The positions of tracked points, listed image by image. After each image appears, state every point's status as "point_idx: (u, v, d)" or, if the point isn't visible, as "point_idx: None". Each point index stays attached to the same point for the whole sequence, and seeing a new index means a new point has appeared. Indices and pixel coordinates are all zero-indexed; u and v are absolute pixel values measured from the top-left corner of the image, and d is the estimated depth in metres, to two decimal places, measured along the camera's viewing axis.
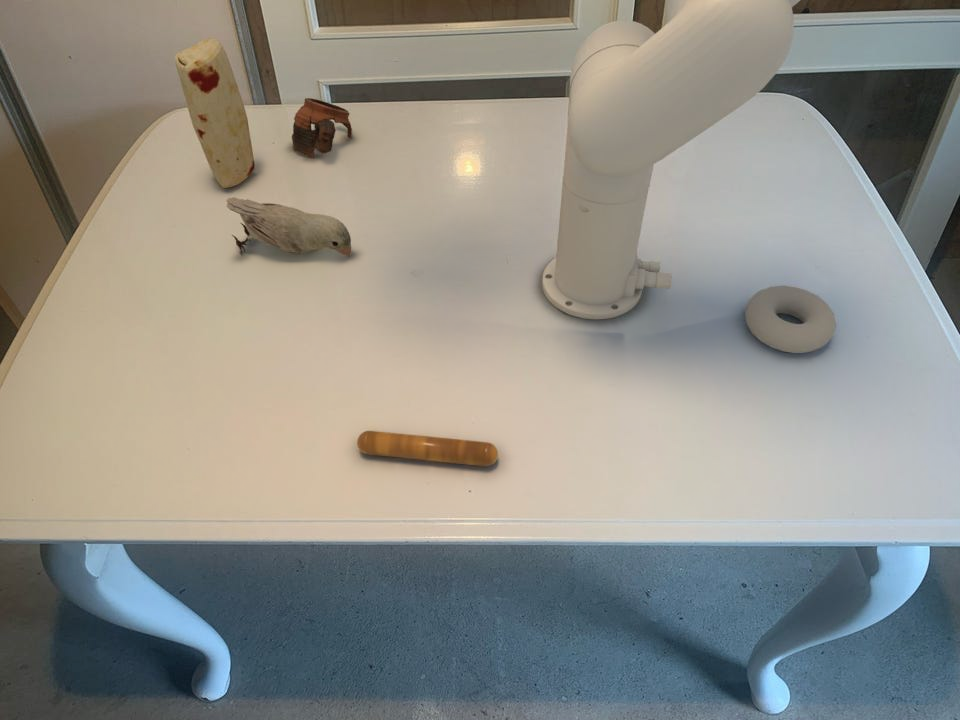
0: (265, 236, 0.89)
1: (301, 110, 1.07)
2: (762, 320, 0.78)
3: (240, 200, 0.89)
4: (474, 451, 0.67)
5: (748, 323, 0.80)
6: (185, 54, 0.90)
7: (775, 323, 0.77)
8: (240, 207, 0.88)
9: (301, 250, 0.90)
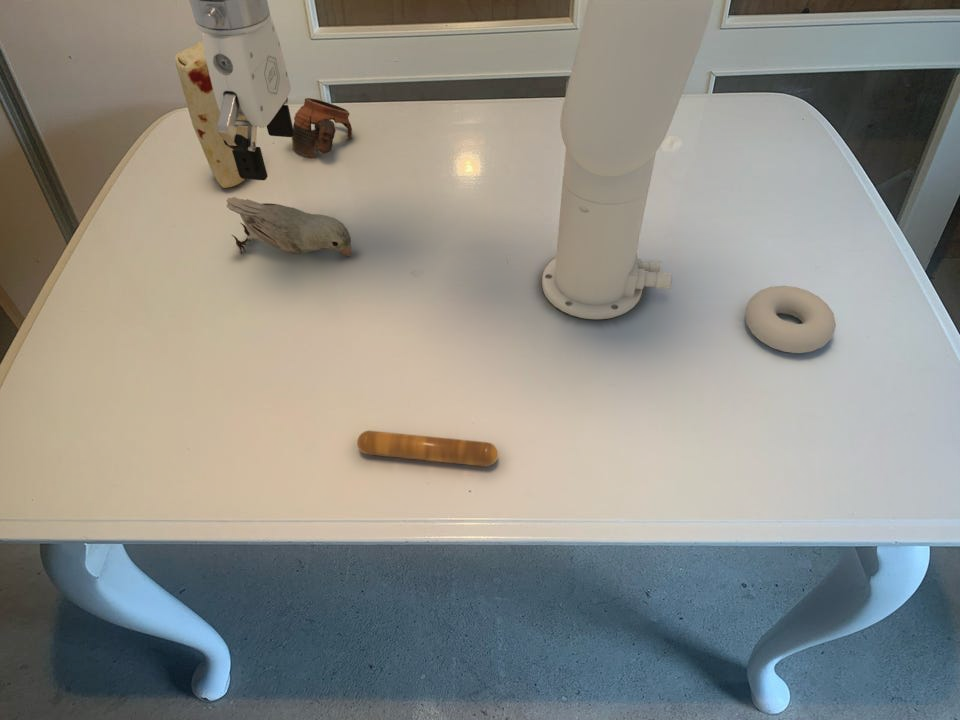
0: (265, 236, 0.89)
1: (301, 110, 1.07)
2: (762, 320, 0.78)
3: (240, 200, 0.89)
4: (474, 451, 0.67)
5: (748, 323, 0.80)
6: (185, 54, 0.90)
7: (775, 323, 0.77)
8: (240, 207, 0.88)
9: (301, 250, 0.90)
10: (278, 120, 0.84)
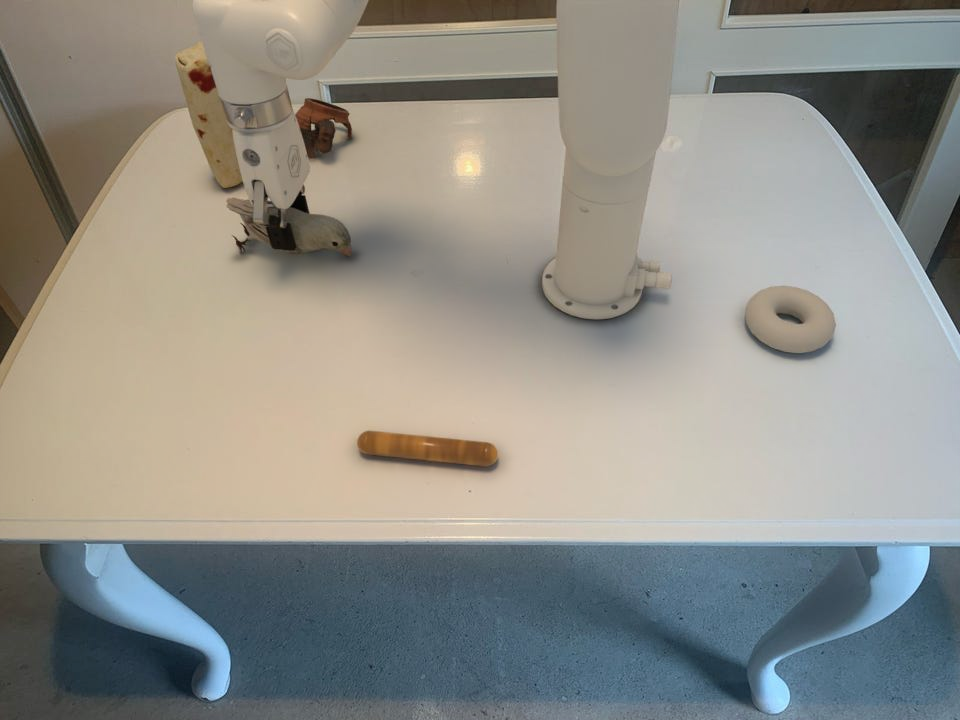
0: (265, 236, 0.88)
1: (301, 110, 1.07)
2: (762, 320, 0.78)
3: (240, 200, 0.89)
4: (474, 451, 0.67)
5: (748, 323, 0.80)
6: (185, 54, 0.90)
7: (775, 323, 0.77)
8: (240, 207, 0.88)
9: (301, 250, 0.90)
10: (296, 208, 0.91)
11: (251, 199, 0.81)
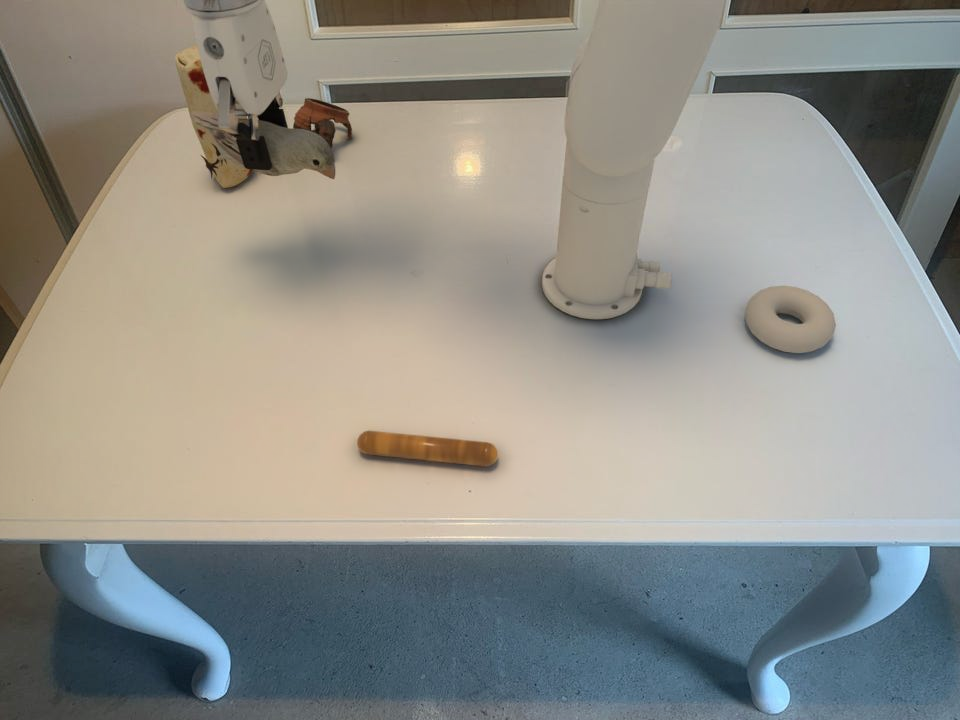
0: (237, 154, 0.78)
1: (301, 110, 1.07)
2: (762, 320, 0.78)
3: (209, 113, 0.78)
4: (474, 451, 0.67)
5: (748, 323, 0.80)
6: (185, 54, 0.90)
7: (775, 323, 0.77)
8: (208, 121, 0.77)
9: (278, 171, 0.79)
10: None
11: (216, 103, 0.71)
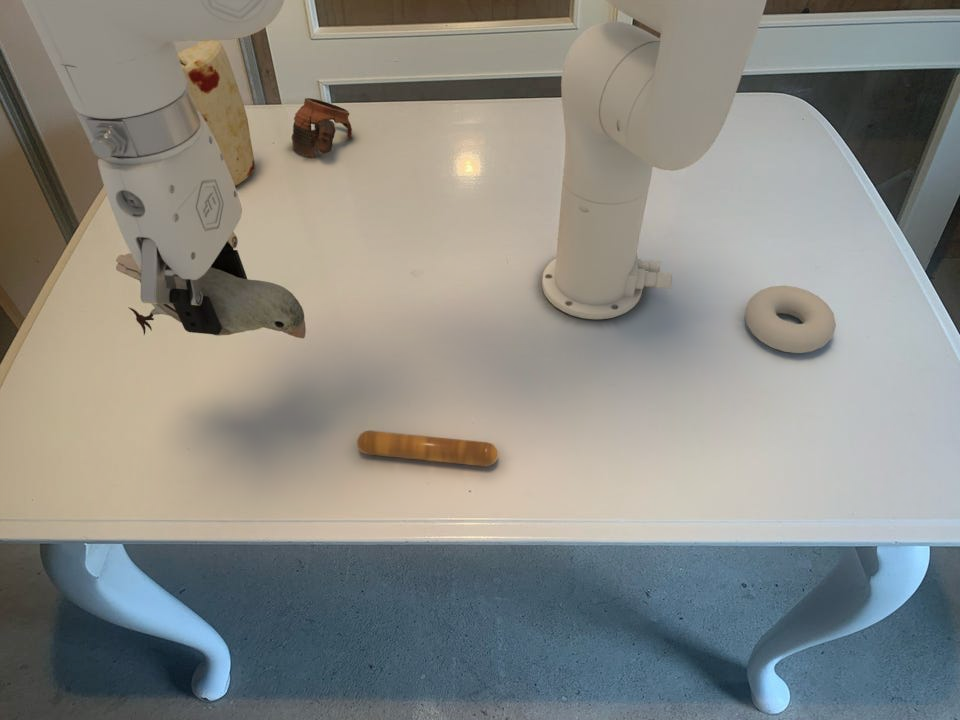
0: (174, 313, 0.59)
1: (301, 110, 1.07)
2: (762, 320, 0.78)
3: None
4: (474, 451, 0.67)
5: (748, 323, 0.80)
6: (185, 54, 0.90)
7: (775, 323, 0.77)
8: (136, 270, 0.59)
9: (230, 332, 0.61)
10: (225, 268, 0.61)
11: (140, 265, 0.52)
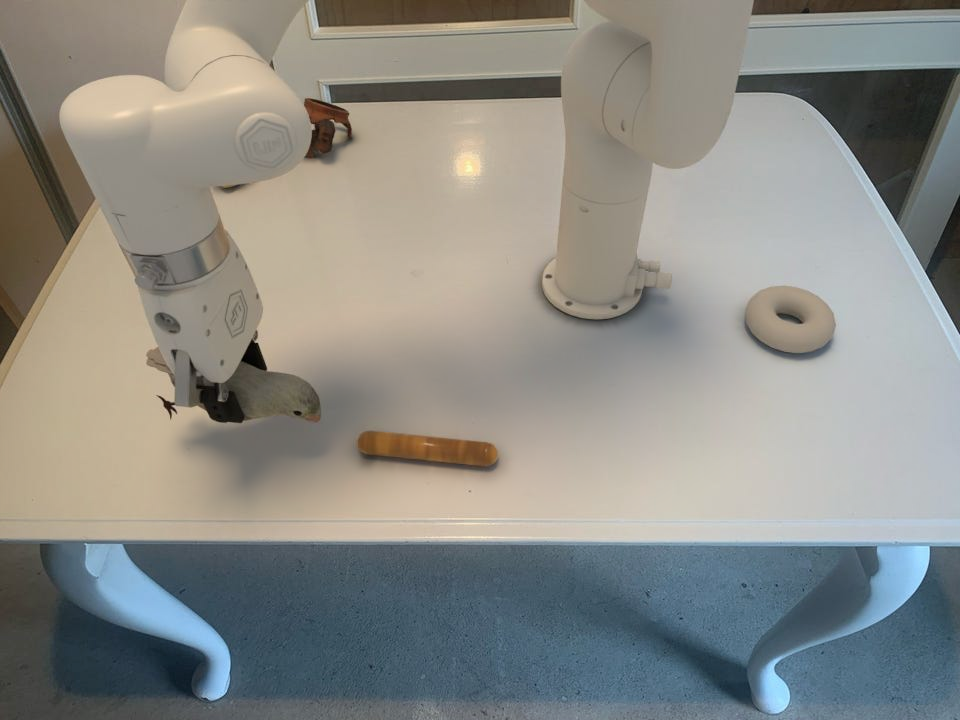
0: None
1: None
2: (762, 320, 0.78)
3: None
4: (474, 451, 0.67)
5: (748, 323, 0.80)
6: None
7: (775, 323, 0.77)
8: (165, 364, 0.63)
9: (252, 418, 0.65)
10: (246, 359, 0.66)
11: (173, 371, 0.57)
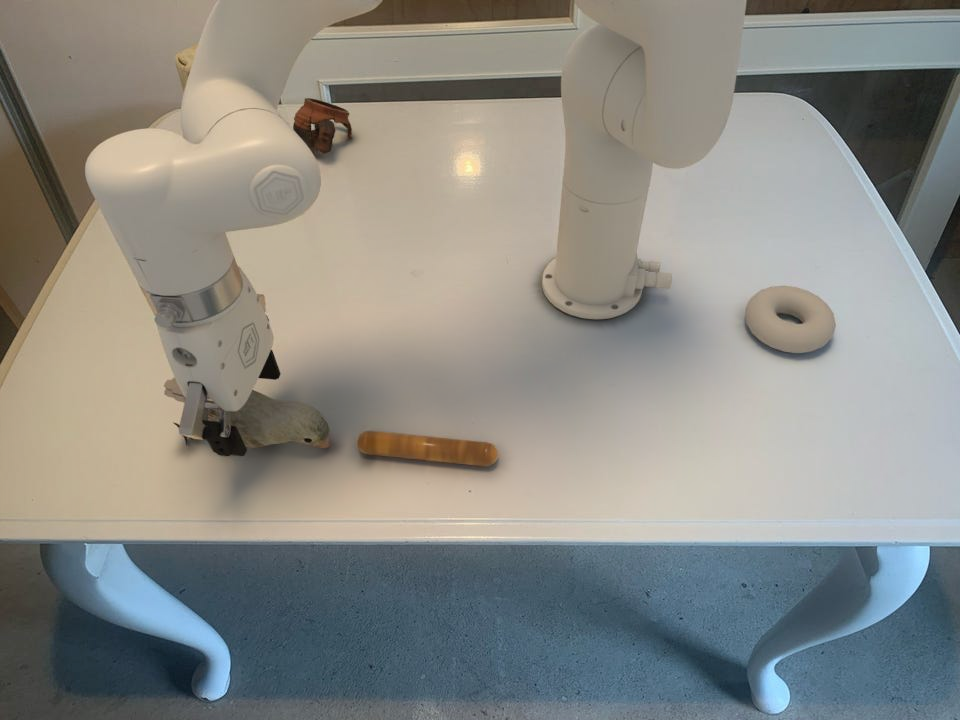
0: None
1: (301, 110, 1.07)
2: (762, 320, 0.78)
3: None
4: (474, 451, 0.67)
5: (748, 323, 0.80)
6: (185, 54, 0.90)
7: (775, 323, 0.77)
8: (182, 394, 0.67)
9: (264, 445, 0.69)
10: None
11: None
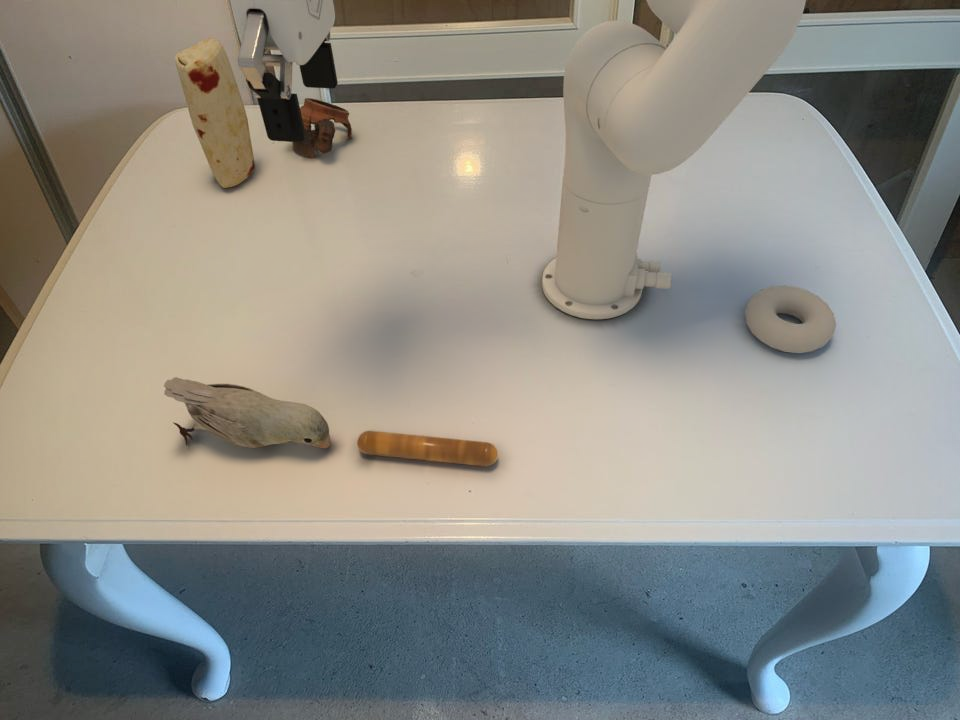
0: (215, 431, 0.67)
1: (301, 110, 1.07)
2: (762, 320, 0.78)
3: (183, 383, 0.67)
4: (474, 451, 0.67)
5: (748, 323, 0.80)
6: (185, 54, 0.90)
7: (775, 323, 0.77)
8: (182, 394, 0.67)
9: (264, 445, 0.69)
10: (317, 64, 0.62)
11: None
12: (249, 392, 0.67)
